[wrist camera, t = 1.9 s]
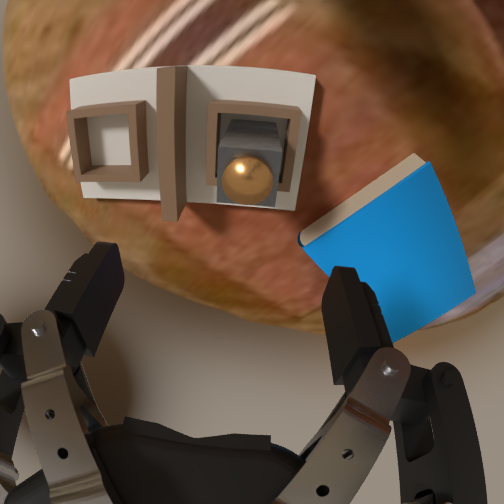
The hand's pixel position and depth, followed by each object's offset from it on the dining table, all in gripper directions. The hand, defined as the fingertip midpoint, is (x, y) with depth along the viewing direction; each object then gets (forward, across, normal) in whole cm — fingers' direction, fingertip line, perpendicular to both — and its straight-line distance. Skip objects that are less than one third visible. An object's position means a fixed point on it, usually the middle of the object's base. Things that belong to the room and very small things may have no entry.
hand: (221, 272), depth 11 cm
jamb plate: (+20, +6, 0) cm, 21 cm away
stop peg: (+19, -1, 0) cm, 19 cm away
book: (+21, -22, +13) cm, 33 cm away
